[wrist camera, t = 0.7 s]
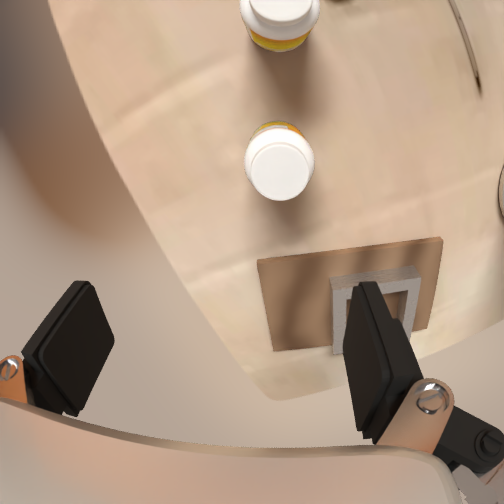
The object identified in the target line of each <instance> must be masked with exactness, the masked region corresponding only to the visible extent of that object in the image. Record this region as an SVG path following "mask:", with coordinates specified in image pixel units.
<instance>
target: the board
mask: <svg viewBox="0 0 504 504" xmlns="http://www.w3.org/2000/svg"><path fill="white" fill-rule="evenodd" d="M442 248H443V240H442V239H441V237H434V238H426V239H419V240H411V241H403V242H396V243H388V244H380V245H372V246H364V247H356V248H348V249H340V250H332V251H324V252H316V253H308V254H300V255H292V256H284V257H275V258H267V259H259V260H257V268H258V273H259V278H260V283H261V288H262V293H263V298H264V304H265V309H266V314H267V319H268V324H269V329H270V334H271V340H272V345H273V350H274V351H282V350H292V349H301V348H310V347H319V346H327V345H332V343H331V308H330V280H329V277H334V276H342V275H349V274H357V273H364V272H371V271H378V270H385V269H392V268H399V267H406V266H413V265H414V266H415V268H416V269H417V271H418V273H419V274H420V276H421V284H420V290H419V296H418V302H417V307H416V313H415V318H414V323H413V327H412V331H417V330H422V329H427V326H428V322H429V318H430V313H431V309H432V304H433V300H434V295H435V290H436V285H437V279H438V274H439V268H440V261H441V255H442ZM399 294H400V291H399V292H393V293H387V294H382V295H383V297H384V300H385V302H386V304H387V307H388V309H389V311H390V314H391V316H392V318H396V316H397V309H398V302H399ZM350 302H351V299H346V324H347V318H348V313H349V307H350Z"/></svg>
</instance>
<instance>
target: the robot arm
mask: <svg viewBox="0 0 504 504" xmlns="http://www.w3.org/2000/svg"><path fill="white" fill-rule="evenodd" d="M499 202H500V208H501V211H502V214H503V216H504V168H503V170H502V175H501V179H500V186H499ZM113 345H114V335H113V333H112V331H111V328H110V326H109V324H108V321H107V319H106V317H105V314H104V312H103V309H102V306H101V304H100V301H99V298H98V296H97V293H96V291H95V288H94V286H93V285H91V284H90V282H89V281H74V282H73V283H72V284H71V286H70V287H69V288H68V289H67V291H66V292H65V293H64V294H63V296H62V297H61V298H60V299H59V301H58V302H57V303H56V305H55V306H54V307H53V308H52V310H51V311H50V312H49V314H48V315H47V316H46V318H45V319H44V320H43V322H42V323H41V324H40V326H39V327H38V329H37V330H36V331H35V333H34V334H33V335H32V337H31V338H30V340H29V341H28V342H27V344H26V345H25V347H24V348H23V350H22V351H21V353H22V355H23V356H24V360H23V361H22V359H21V358H19V357H18V356H15V355H11V356H8V357H6V358H4V359H3V360H1V361H0V504H463V503H462V500H461V496H460V492H459V490H461V492H462V493H463V494H464V495H465V496H466V498H465V500H466V501H467V502H468V504H504V434H503V433H502V432H501V431H500V430H499V429H497V428H496V427H494V426H492V425H490V424H488V423H486V422H484V421H482V420H480V419H479V418H476V417H475V416H473V415H471V414H469V413H467V412H465V411H463V410H461V409H460V408H458V407H455V406H454V395H453V393H452V391H451V389H450V388H449V387H448V386H447V385H446V384H445V383H444V382H442V381H440V380H437V379H433V378H426V379H424V378H423V375H422V373H421V370H420V368H419V365H418V362H417V360H416V357H415V354H414V352H413V349H412V347H411V344H410V342H409V340H408V337H407V335H406V332H405V330H404V328H403V325H402V323H401V321H400V320H399V319H398V318H392V316H391V314H390V311H389V309H388V307H387V304H386V302H385V300H384V297H383V295H382V293H381V291H380V288H379V286H378V284H377V282H376V281H363V282H359V284H358V286H354V287H353V290H352V296H351V302H350V307H349V313H348V318H347V324H346V329H345V334H344V339H343V356H344V361H345V366H346V371H347V376H348V382H349V387H350V393H351V398H352V404H353V410H354V416H355V422H356V428H357V431H362V433H363V439H370V438H372V442H373V444H374V445H357V446H333V447H316V448H315V447H314V448H251V447H250V448H249V447H232V446H218V445H207V444H197V443H188V442H181V441H173V440H166V439H160V438H154V437H148V436H143V435H138V434H132V433H128V432H123V431H118V430H114V429H110V428H105V427H101V426H98V425H94V424H90V423H86V422H83V421H79V420H76V419H72V418H69V417H66V416H63V415H62V413H63V411H64V412H65V413H66V414H68V415H71V416H74V417H77V416H78V414H79V412H80V410H83V408H84V406H85V404H86V402H87V400H88V397H89V395H90V393H91V391H92V388H93V387H94V384H95V382H96V380H97V378H98V376H99V374H100V372H101V370H102V368H103V366H104V364H105V362H106V360H107V357H108V355H109V353H110V351H111V349H112V347H113Z"/></svg>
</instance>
